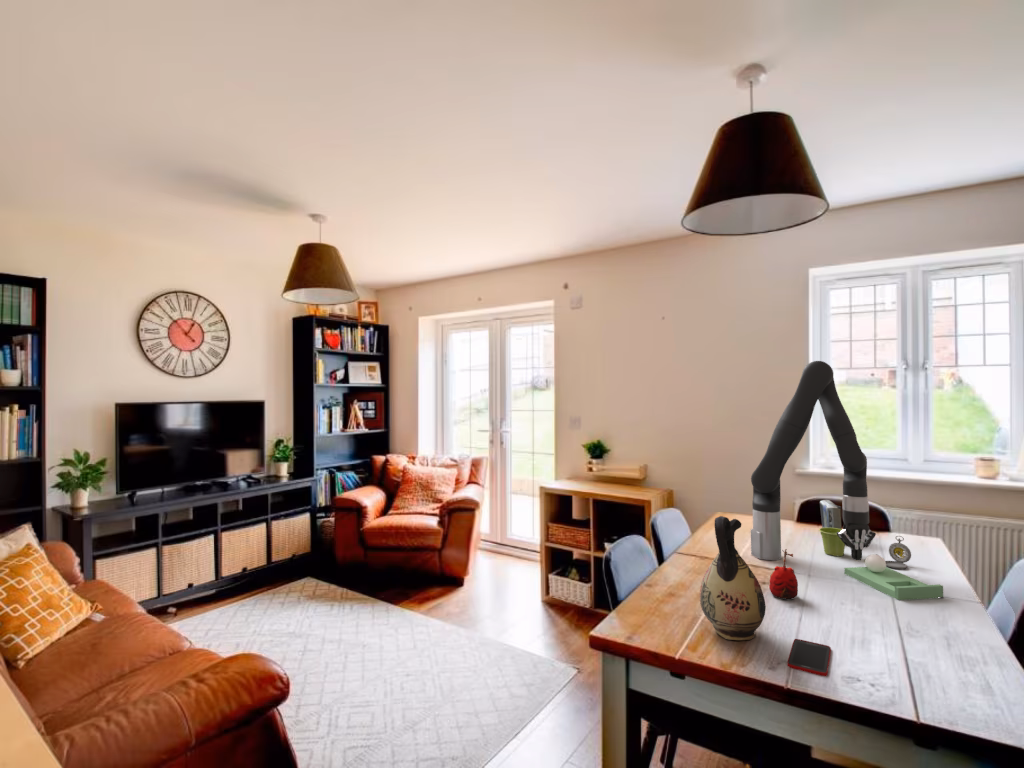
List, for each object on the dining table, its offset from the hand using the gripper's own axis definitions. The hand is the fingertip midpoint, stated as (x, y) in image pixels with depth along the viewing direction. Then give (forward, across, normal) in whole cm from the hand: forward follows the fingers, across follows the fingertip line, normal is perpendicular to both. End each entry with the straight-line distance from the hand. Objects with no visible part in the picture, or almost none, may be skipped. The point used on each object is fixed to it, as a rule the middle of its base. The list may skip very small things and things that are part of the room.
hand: (856, 559), depth 177 cm
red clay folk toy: (+4, -38, -19) cm, 43 cm away
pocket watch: (+4, +16, +2) cm, 16 cm away
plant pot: (+4, +4, +17) cm, 18 cm away
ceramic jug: (+4, -65, -40) cm, 77 cm away
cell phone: (+4, -53, -53) cm, 75 cm away
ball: (-1, 0, -8) cm, 8 cm away
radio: (+4, +18, +39) cm, 43 cm away
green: (+3, 0, -14) cm, 15 cm away
